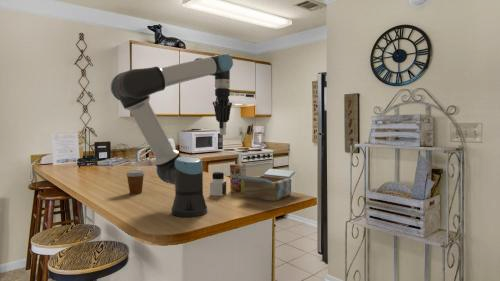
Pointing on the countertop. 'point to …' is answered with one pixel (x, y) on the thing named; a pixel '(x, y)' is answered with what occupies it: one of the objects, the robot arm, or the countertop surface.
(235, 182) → the candy box
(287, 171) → the far flap
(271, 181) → the near flap
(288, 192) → the carton
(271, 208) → the countertop surface
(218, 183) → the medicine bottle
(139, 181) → the disposable coffee cup
